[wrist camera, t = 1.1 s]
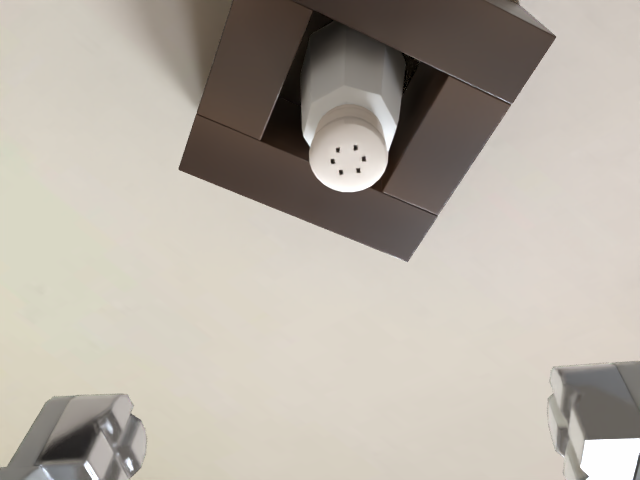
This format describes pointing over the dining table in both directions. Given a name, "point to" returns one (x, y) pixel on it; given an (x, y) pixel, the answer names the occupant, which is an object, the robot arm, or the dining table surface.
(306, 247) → the dining table surface
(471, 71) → the holder
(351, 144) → the pepper shaker
